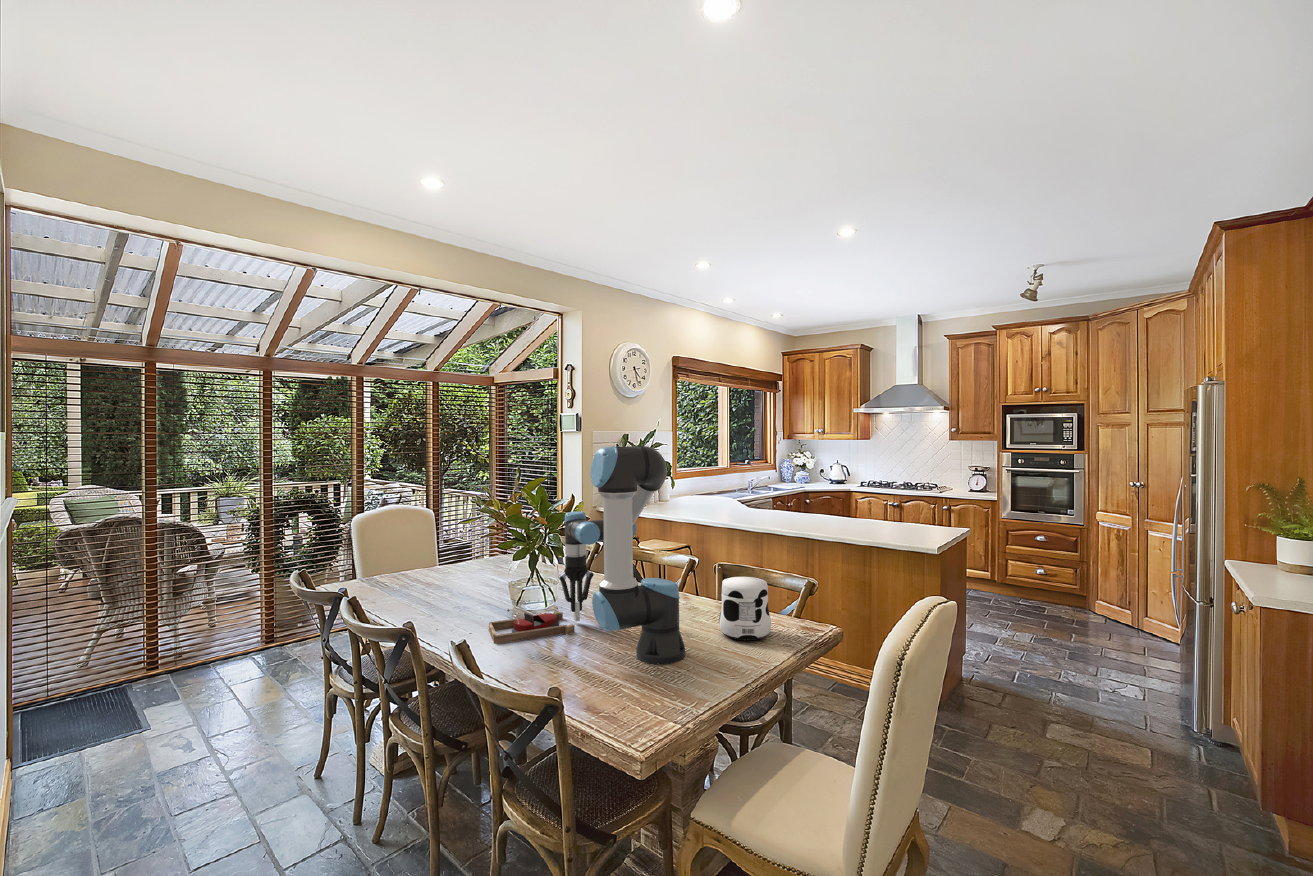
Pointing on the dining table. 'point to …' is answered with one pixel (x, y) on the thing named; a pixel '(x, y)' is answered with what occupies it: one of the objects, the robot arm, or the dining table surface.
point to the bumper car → (534, 621)
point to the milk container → (745, 608)
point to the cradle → (529, 633)
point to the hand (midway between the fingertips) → (576, 620)
